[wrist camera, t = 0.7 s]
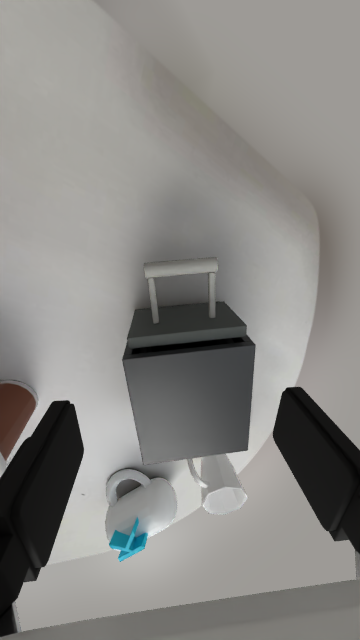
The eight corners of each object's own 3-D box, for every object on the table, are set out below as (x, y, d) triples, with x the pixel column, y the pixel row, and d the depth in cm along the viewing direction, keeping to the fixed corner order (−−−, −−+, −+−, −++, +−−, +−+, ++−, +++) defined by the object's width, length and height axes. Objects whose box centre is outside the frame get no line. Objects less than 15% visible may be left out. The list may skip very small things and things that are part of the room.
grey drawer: (127, 259, 25) (114, 270, 18) (224, 251, 25) (250, 258, 18) (148, 394, 32) (145, 441, 25) (223, 385, 33) (241, 428, 26)
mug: (179, 546, 32) (117, 578, 34) (186, 494, 41) (137, 521, 43) (135, 479, 32) (76, 514, 34) (151, 442, 41) (104, 471, 43)
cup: (213, 469, 42) (225, 520, 34) (173, 449, 38) (176, 501, 31) (238, 447, 40) (257, 496, 33) (199, 424, 37) (209, 473, 29)
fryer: (133, 320, 29) (122, 359, 20) (226, 310, 29) (255, 344, 21) (147, 405, 34) (143, 465, 25) (225, 395, 35) (247, 450, 26)
